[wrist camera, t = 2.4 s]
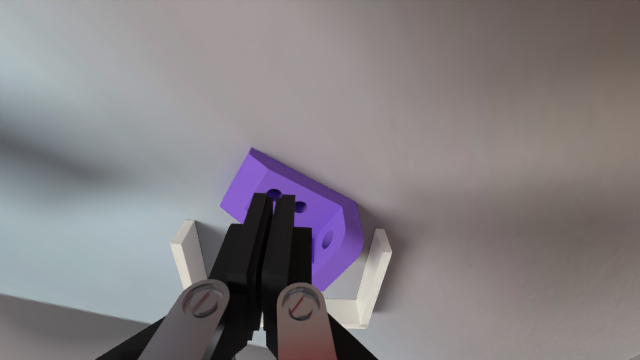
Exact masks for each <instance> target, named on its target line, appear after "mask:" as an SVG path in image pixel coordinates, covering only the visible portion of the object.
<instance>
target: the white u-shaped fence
mask: <svg viewBox="0 0 640 360" xmlns="http://www.w3.org/2000/svg"><path fill="white" fill-rule="evenodd" d="M171 248H172V251H173V254H174V258H175V261H176V264H177V268H178V271H179V274H180V277H181V281H182V284H183V287H184V290H185V289H186V288H188V287H189V286H191V285H192V284H194V283H196V282H198V281H201V280H206V279H207V275H206V271H205V266H204V261H203V257H202V252H201V248H200V243H199V239H198V234H197V229H196V225H195V220H185V221H184V222H183V224H182V226H181V227H180V229H179V230H178V232H177V234H176V235H175V237H174V239H173V240H172V242H171ZM391 255H392V250H391V247H390V244H389V241H388V239H387V236H386V233H385V230H384V229H375V233H374V236H373V240H372V244H371V247H370V251H369V255H368V259H367V262H366V266H365V270H364V273H363V277H362V281H361V285H360V288H359V292H358V296H357V299H356V300H350V299H324V300H325V304H326V308H327V312H328V313H329V314H330V315H331V316H332V317H333V318H334V319H335V320H336V321H338V322H339V323H340V324H341V325H342V326H343V327H344V328H352V329H367V326H368V323H369V320H370V317H371V314H372V311H373V308H374V305H375V302H376V299H377V296H378V293H379V290H380V287H381V284H382V281H383V279H384V276H385V273H386V270H387V267H388V264H389V261H390V258H391ZM260 327H263V312H262V318H261V324H260Z"/></svg>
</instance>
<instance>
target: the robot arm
mask: <svg viewBox="0 0 640 360" xmlns="http://www.w3.org/2000/svg"><path fill="white" fill-rule="evenodd" d="M295 196H296V195H288V194H282V198H279V197H277V199H276V204H275V209H274V214H273V197H268V193H254V194H253V197H252V200H251V203H250V206H249V209H248V212H247V215H246V217H245V220H244V223H243V224H231V225H230V227H229V229H228V231H227V234H226V236H225V239H224V241H223V244H222V246H221V249H220V251H219V254H218V256H217V259H216V261H215V263H214V266H213V268H212V271H211V273H210V276H209V278H208V279H206V280H201V281H198V282H196V283H194V284H192V285H191V286H189V287H188V288H186V289H185V290H184V291H183V293H182V294H181V295H180V296H179V298H178V299H177V301H176V302H175V304H174V305H173V307H172V308H171V310H170V311H169V313H168V314H167V316H165V317H163V318H162V319H160V320H159V321H157V322H155V323H154V324H152V325H150V326H149V327H147V328H146V329H144V330H143V331H141V332H139V333H137V334H136V335H134V336H133V337H131V338H129V339H128V340H126V341H124V342H123V343H121V344H120V345H118V346H116V347H115V348H113V349H111V350H110V351H108V352H107V353H105V354H103V355H102V356H100V357H98V358H97V359H96V360H236V358H237V354H238V352H239V351H241V350H242V349H243V348H244V347H245V346H246V345H247V341H248V340H252V337H253V331H259V329H260V324H261V318H262V312H263V330H264V331H266V346H267V347H268V348H269V350H270V351H271V352H272V353H273V354H274V356H275V357H276V360H378V359H377V358H376V357H375V356H374V355H373V354H372V353H371V352H369V351H368V350H367V349H366V348H365V347H364V346H363V345H362V344H361V343H360V342H359V341H358V340H357V339H356V338H355V337H354V336H352V335H351V334H350V333H349V332H348V331H347V330H346V329H345V328H344V327H343V326H342V325H341V324H340V323H339V322H338V321H336V320H335V319H334V318H333V317H332V316H331V315H330V314H329V313H328V312H327V308H326V304H325V300H324V297H323V294H322V293H321V292H320V291H319V289H318V288H316V287H315V286H313V285H312V228H310V227H294V218H295Z"/></svg>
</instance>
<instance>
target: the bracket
mask: <svg viewBox="0 0 640 360" xmlns="http://www.w3.org/2000/svg"><path fill="white" fill-rule="evenodd" d="M271 189H278V190H279V191H273V190H271ZM254 193H268V197H273V214H274V209H275V204H276V199H277V197H279V198H282V194H288V195H296V196H295V218H294V227H310V228H312V285H313V286H315V287H316V288H318V289H319V290H320V291H322V292H323V291H324V290H325V289H326V288H327V287H328V286H329V285H330V284H331V283H332V282H333V281H334V280H336V279H337V278H338V277H339V276H340V275H341V274H342V273H343V272H344V271H345V270H346V269H347V268H348V267H349V266H350V265H351V264H352V263H353V262H354V261H355V260H356V259H357V258H358V256H359V255H360V253H361V250H362V248H363V244H364V234H363V230H362V226H361V222H360V218H359V213H358V209H357V205H356V202H355V201H353V200H351V199H349V198H347V197H345V196H343V195H341V194H339V193H337V192H335V191H334V190H332V189H330V188H328V187H326V186H324V185H322V184H320V183H318V182H316V181H314V180H313V179H311V178H309V177H307V176H305V175H303V174H301V173H299V172H297V171H295V170H293V169H292V168H290V167H288V166H286V165H284V164H282V163H280V162H278V161H276V160H274V159H272V158H270V157H269V156H267V155H265V154H263V153H261V152H259V151H257V150H255V149H253V148H251V149H250V151H249V153H248V155H247V157H246V158H245V160H244V162H243V164H242V166H241V167H240V169H239V171H238V173H237V175H236V176H235V178H234V180H233V182H232V184H231V186H230V187H229V189H228V191H227V193H226V195H225V196H224V198H223V200H222V202H221V204H220V207H221V208H222V209H224V210H225V211H226V212H227V213H229V214H230V215H231V216H232V217H234V218H235V219H236V220H237V221H239V222H240V223H241V224H243V223H244V220H245V217H246V215H247V212H248V209H249V206H250V203H251V200H252V197H253V194H254ZM297 201H302V203H299V202H297Z"/></svg>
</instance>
